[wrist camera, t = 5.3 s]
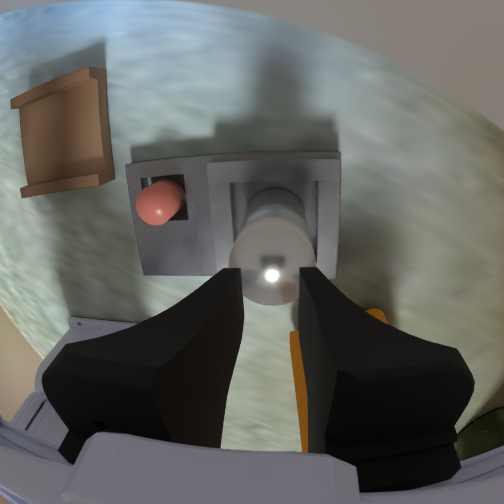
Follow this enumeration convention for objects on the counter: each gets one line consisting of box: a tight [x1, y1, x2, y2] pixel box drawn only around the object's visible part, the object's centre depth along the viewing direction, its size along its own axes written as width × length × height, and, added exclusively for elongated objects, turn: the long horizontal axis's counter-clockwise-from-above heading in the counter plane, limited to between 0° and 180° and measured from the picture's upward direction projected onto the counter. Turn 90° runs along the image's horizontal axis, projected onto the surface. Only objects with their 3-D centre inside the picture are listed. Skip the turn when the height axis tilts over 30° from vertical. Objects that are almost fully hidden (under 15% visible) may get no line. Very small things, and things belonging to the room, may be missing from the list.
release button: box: [136, 178, 185, 225], centre depth 19 cm, size 2×2×2 cm
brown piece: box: [11, 67, 115, 198], centre depth 18 cm, size 8×8×2 cm
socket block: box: [125, 151, 341, 279], centre depth 19 cm, size 14×8×2 cm, turn 93°
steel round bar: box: [228, 189, 316, 306], centre depth 16 cm, size 4×4×7 cm
